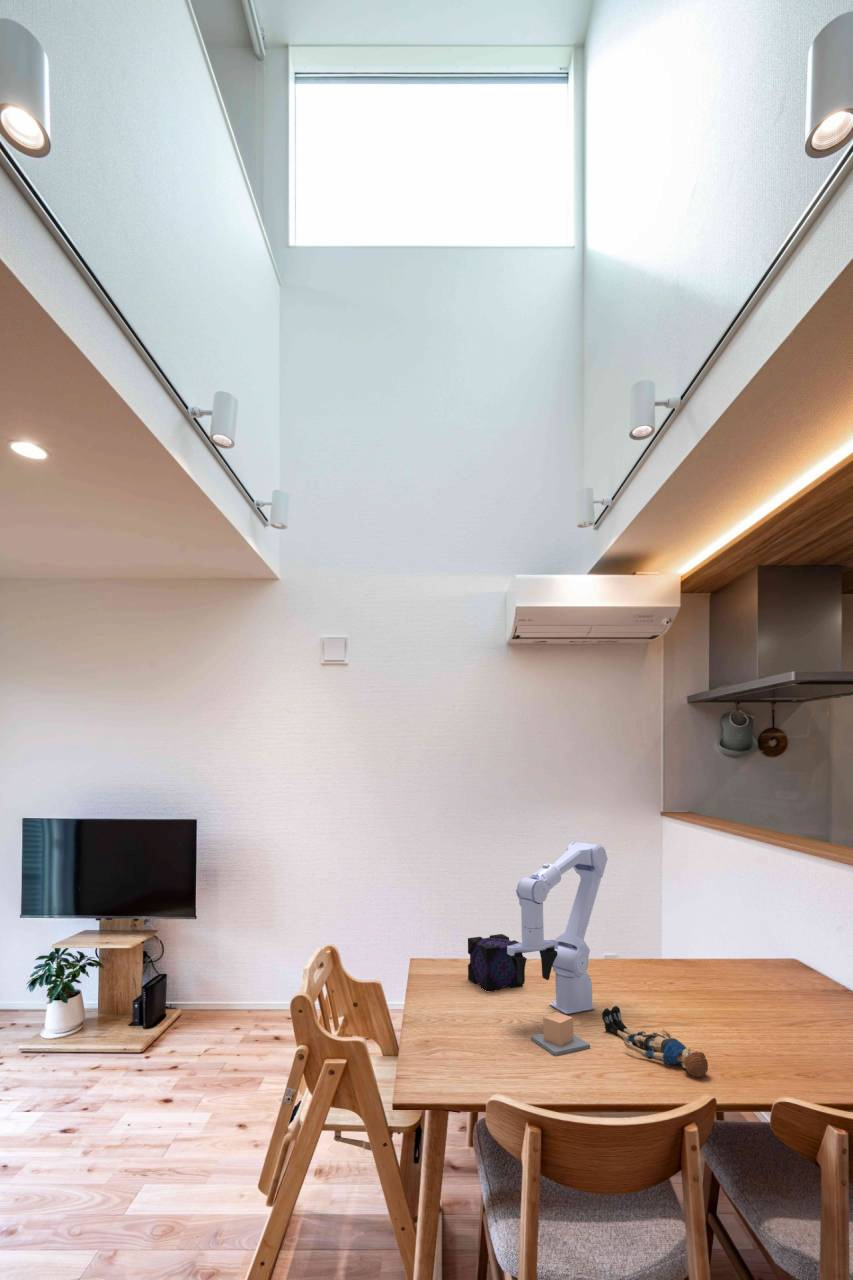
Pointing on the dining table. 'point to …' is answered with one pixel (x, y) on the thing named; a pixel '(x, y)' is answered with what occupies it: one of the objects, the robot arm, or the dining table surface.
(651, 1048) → the figurine
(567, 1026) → the terracotta cube
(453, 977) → the dining table surface
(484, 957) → the energy cube
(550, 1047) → the plate
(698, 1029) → the dining table surface
